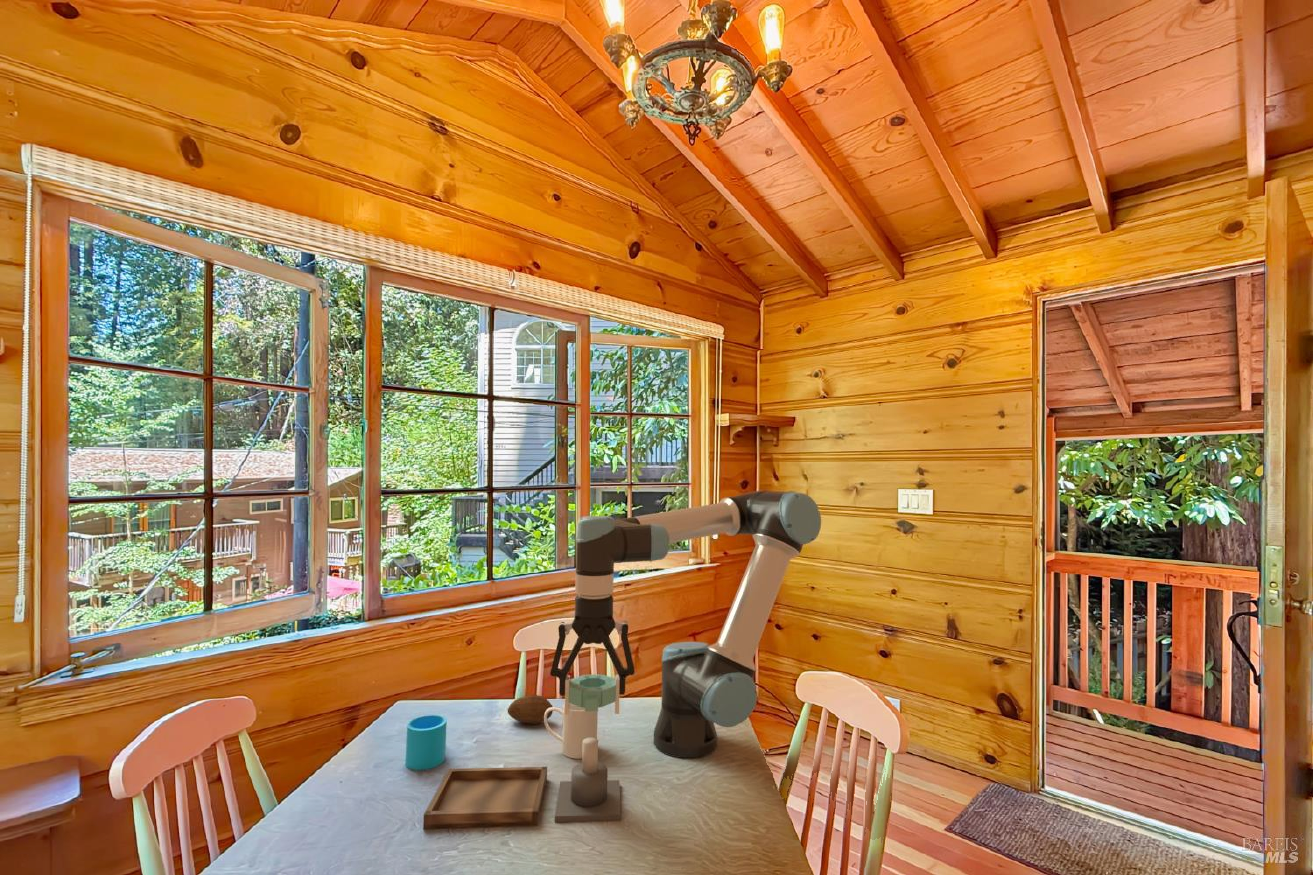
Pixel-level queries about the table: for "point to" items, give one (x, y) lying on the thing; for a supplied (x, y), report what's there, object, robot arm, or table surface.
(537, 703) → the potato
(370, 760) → the table surface
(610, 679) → the ring
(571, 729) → the mug
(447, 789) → the tray
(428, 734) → the mug
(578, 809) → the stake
